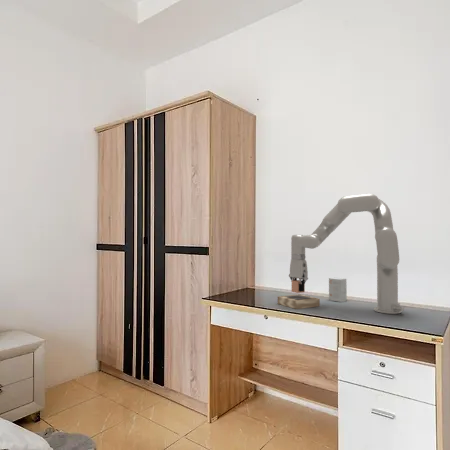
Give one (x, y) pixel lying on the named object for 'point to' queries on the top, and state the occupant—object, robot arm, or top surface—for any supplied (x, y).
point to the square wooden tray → (298, 301)
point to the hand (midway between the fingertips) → (298, 290)
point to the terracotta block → (296, 286)
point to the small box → (337, 289)
